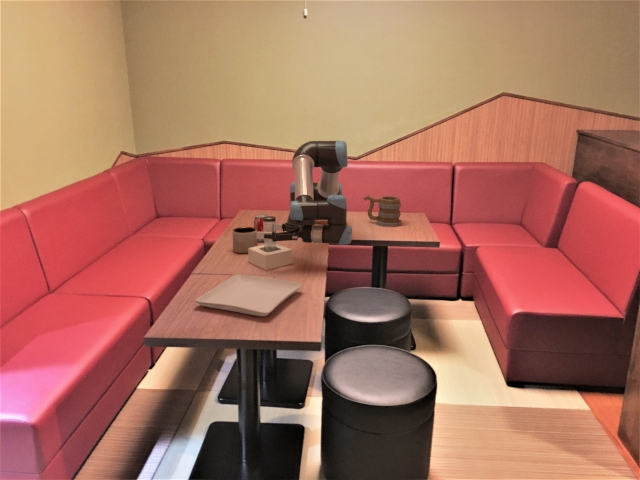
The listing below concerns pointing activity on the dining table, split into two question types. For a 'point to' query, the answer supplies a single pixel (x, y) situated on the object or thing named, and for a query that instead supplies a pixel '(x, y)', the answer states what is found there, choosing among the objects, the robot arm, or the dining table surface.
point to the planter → (244, 239)
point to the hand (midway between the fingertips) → (261, 230)
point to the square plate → (249, 294)
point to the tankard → (386, 210)
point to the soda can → (259, 225)
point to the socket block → (270, 257)
